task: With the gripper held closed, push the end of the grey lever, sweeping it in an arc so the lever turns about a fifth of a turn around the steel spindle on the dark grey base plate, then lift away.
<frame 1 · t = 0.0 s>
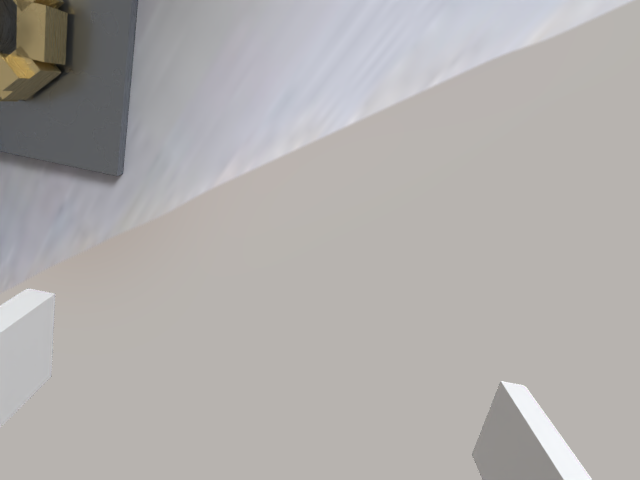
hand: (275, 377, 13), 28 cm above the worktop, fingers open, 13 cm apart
base plate: (9, 26, 36), on the worktop
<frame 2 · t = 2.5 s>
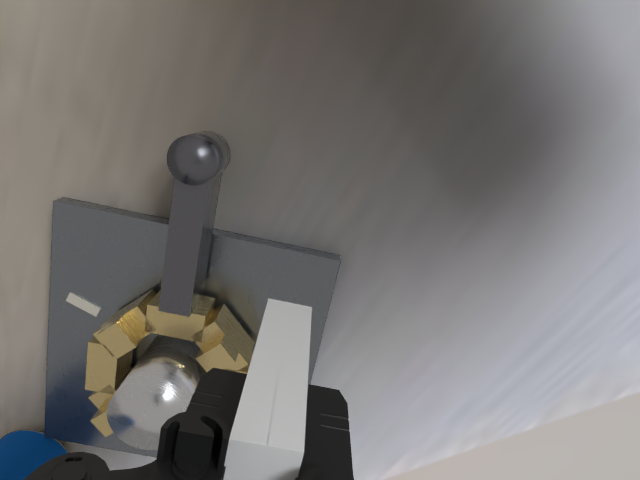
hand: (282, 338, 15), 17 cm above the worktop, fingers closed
grey lever: (180, 302, 30), point 4 cm above the worktop, hinge at 0.0°
base plate: (186, 346, 35), on the worktop
beverage can: (40, 453, 38), on the worktop
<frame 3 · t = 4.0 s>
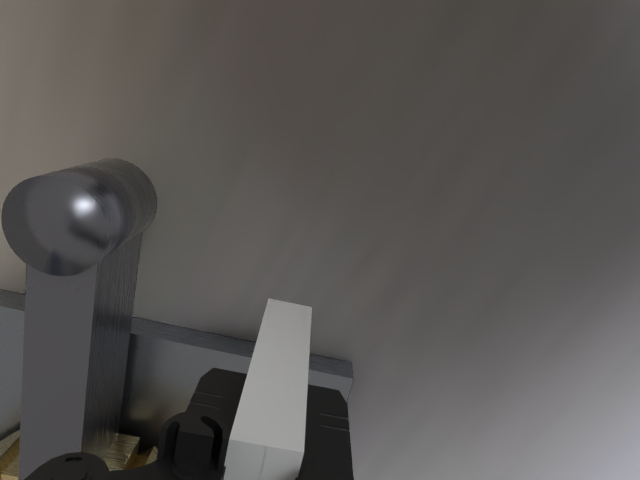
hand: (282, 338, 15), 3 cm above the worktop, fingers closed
grey lever: (68, 462, 17), point 4 cm above the worktop, hinge at 0.0°
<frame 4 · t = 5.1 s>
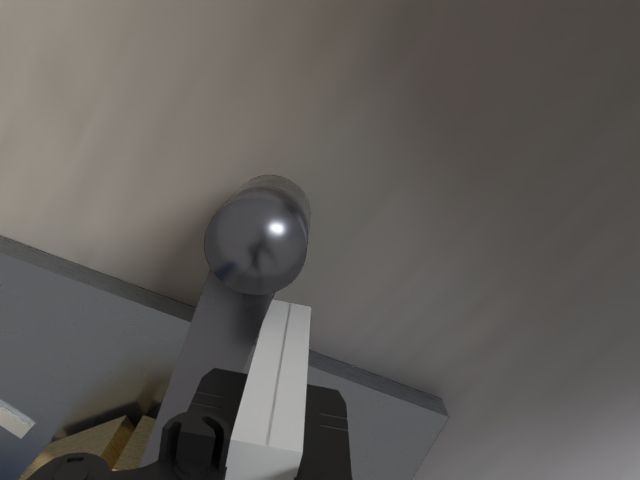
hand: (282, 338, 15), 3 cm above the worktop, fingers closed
grey lever: (173, 463, 17), point 4 cm above the worktop, hinge at 0.4°, touching gripper
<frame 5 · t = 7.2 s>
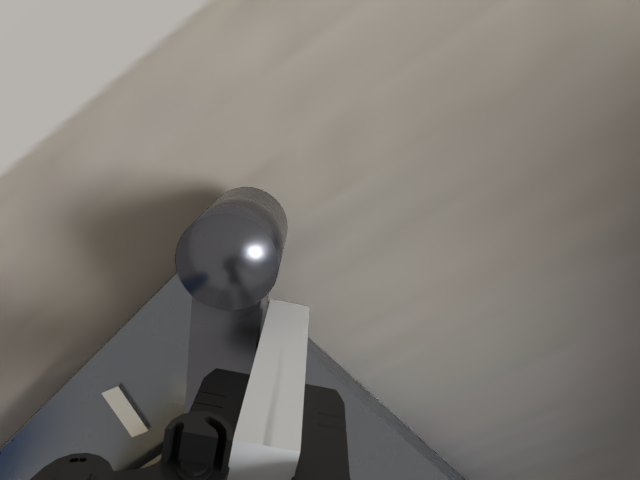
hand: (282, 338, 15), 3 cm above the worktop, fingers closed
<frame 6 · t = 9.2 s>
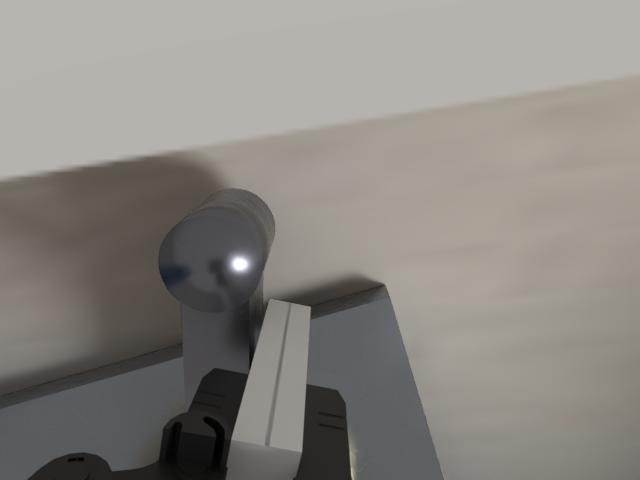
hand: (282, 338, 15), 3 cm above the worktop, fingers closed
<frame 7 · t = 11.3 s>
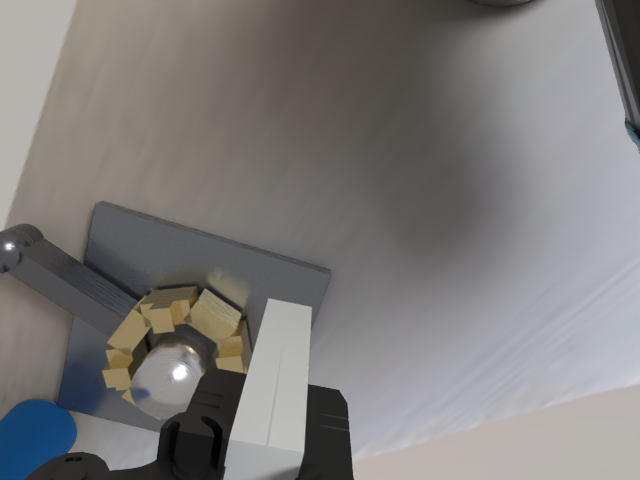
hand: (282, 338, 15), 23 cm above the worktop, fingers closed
grey lever: (121, 319, 36), point 4 cm above the worktop, hinge at 69.2°
base plate: (191, 336, 41), on the worktop
beverage can: (48, 421, 43), on the worktop
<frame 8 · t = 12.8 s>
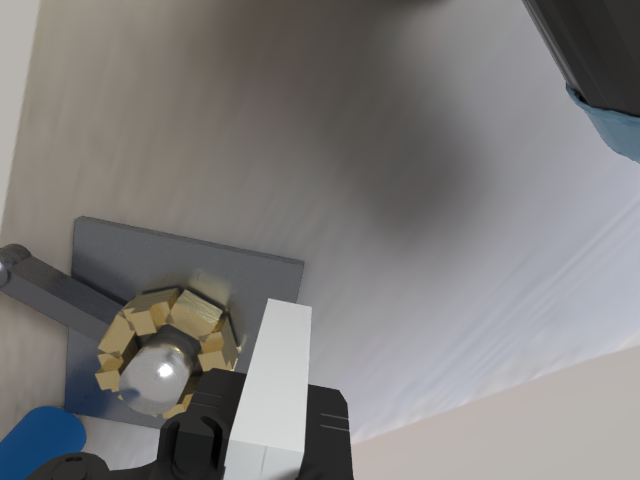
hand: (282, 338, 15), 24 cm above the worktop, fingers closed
grey lever: (109, 325, 38), point 4 cm above the worktop, hinge at 69.2°
base plate: (181, 336, 43), on the worktop
beverage can: (59, 426, 46), on the worktop
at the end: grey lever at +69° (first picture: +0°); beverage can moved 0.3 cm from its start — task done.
